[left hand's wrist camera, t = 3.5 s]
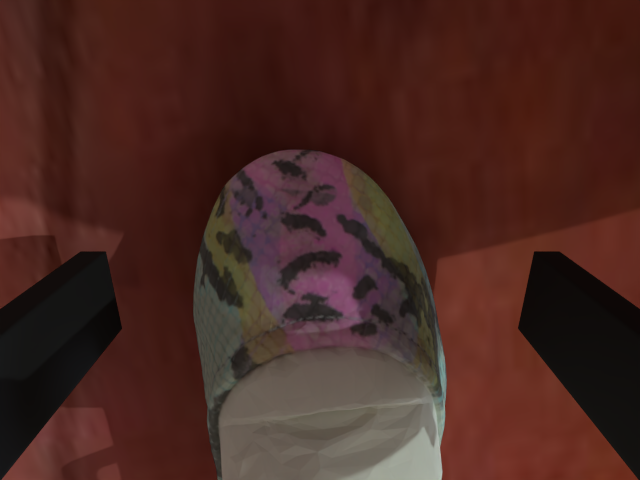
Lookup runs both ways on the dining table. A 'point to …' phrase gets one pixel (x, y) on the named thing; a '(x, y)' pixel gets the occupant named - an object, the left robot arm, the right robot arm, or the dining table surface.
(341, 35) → the dining table surface
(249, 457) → the ballet flat
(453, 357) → the dining table surface
